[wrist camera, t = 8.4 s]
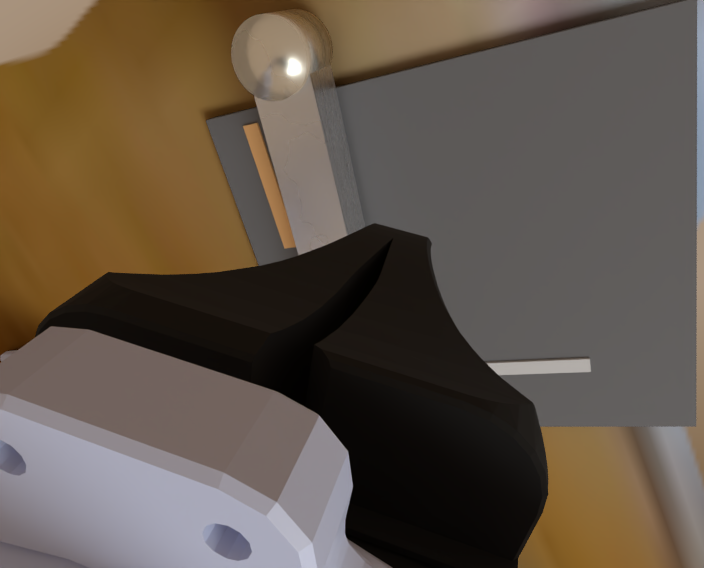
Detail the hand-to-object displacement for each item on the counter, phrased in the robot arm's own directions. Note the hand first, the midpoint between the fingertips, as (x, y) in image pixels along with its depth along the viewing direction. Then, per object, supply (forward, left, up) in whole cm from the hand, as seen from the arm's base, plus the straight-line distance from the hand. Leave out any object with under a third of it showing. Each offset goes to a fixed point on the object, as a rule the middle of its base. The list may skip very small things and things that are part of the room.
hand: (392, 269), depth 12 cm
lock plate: (0, -4, -9) cm, 10 cm away
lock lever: (-4, -1, -8) cm, 9 cm away
